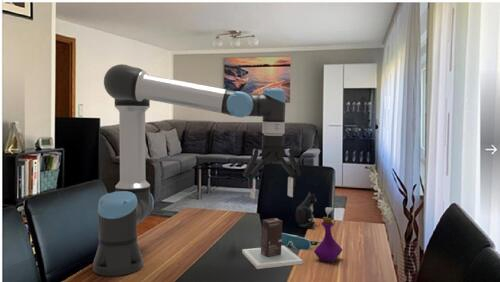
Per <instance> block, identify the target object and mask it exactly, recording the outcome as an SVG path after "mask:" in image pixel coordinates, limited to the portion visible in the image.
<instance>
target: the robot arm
mask: <svg viewBox="0 0 500 282" xmlns="http://www.w3.org/2000/svg"><path fill="white" fill-rule="evenodd" d="M103 87H104V89H105V92H106V93H107V94H108V95H109V96H110V97H111V98H113V99H114V108H115V109H116V110H118V112H119V125H118V126H119V181H118V182H117V184H116V185H115V186H114V187H115V191H112V192H108V193H106V194H104V195H101V197H100V198H99V200H98V204H97V205H98V206H97V215H98V220H97V221H98V222H97V223H98V246H97V250H96V253H95V256H94V259H93V264H92V271H93V272H94V273H95V274H97V275H100V276H105V277H117V276H124V275H125V276H126V275H130V274H133V273H136V272H138V271H139V270H141V269H142V268H143V266H144V264H143V263H144V257H143V254H142V253H141V252H142V251H141V249H140V247H139V243H138V226H139V224H140V223H142V222H143V221H146V219H147V218H148V217H149V216H150V214H151V213H152V211H153V209H154V206H155V205H154V201H155V200H154V197H153V194H152V193H151V184H150V182H148V181H147V180H146V179H147V177H146V112H147V110H149V108H150V106H151V105H150V101H154V102H160V103H165V104H170V105H173V106H174V105H175V106H181V107H186V108H192V109H197V110H201V111H202V110H203V111H208V112H212V113H218V114H224V115H227V116H231V117H235V118H245V117H262V124H261V125H262V129H261V133H262V134H263V135H262V136H261V149H257V148H253V149H252V152H251V156H250V159H248V160H249V161H248V162H247V164H246V167H245V169H244V170H243V172H242V176H243V177H244V178H247V188H249V189H250V194H249V195H250V196H249V197H250V199H252V200H253V199H256V179H255V177H256V176H257V174H258V173H259V172H260V171H261V169H262V168H263V167H264V165H266V164H267V163H280V164H281V166H282V167H283V169H284V170H285V171H286V172H287V173H288V175H289V176H288V177H287V196H288V197H290V198H293V197H294V194H293V193H294V188H295V187H296V179H297V177H301V175H302V172H301V170H300V168H299V166H298V163H297V162H296V158H295V156H294V150H293V149H292V148H287V149H285V135H284V134H285V129H286V127H285V126H286V123H285V122H286V91H285V90H284V89H283V88H277V87H275V88H274V87H272V88H271V87H270V88H267V87H266V88H264V89H263V90H262V91H263V92H262V93H260V94H257V93H256V94H255V93H247V92H245V91H237V90H233V89H226V88H221V87H216V86H210V85H205V84H200V83H194V82H189V81H183V80H179V79H178V80H177V79H173V78H167V77H163V76H162V77H161V76H156V75H150V74H149V73H147V71H146V70H144V69H141V68H139V67H135V66H131V65H128V64H122V63H121V64H116V65H113V66H111V67H110V68H109V69H108V70H107V71H106V73H105V74H104V77H103ZM260 154H261V158H260V159H259V161H258V162H257V163H256V161H257V160H258V157H259V156H260ZM284 156H287V158H288V161H289V163H290V165H291V167H290V166H289V164H288V163H287V161H286V159H285V158H284ZM255 163H256V165H255Z"/></svg>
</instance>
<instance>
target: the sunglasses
mask: <svg viewBox="0 0 500 282" xmlns="http://www.w3.org/2000/svg"><path fill="white" fill-rule="evenodd" d="M322 241H323V240H320V241H313V240H311V239H309V238H305V237H301V236H300V235H297V234H296V235H295V234H289V233H284V232H282V244H281V245H282V246H285V247H289V246H290V245H292V248H294V249H295V250H310V249H311V247H312V246H317V245H318V244H319V245H320V244H321V242H322Z"/></svg>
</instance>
